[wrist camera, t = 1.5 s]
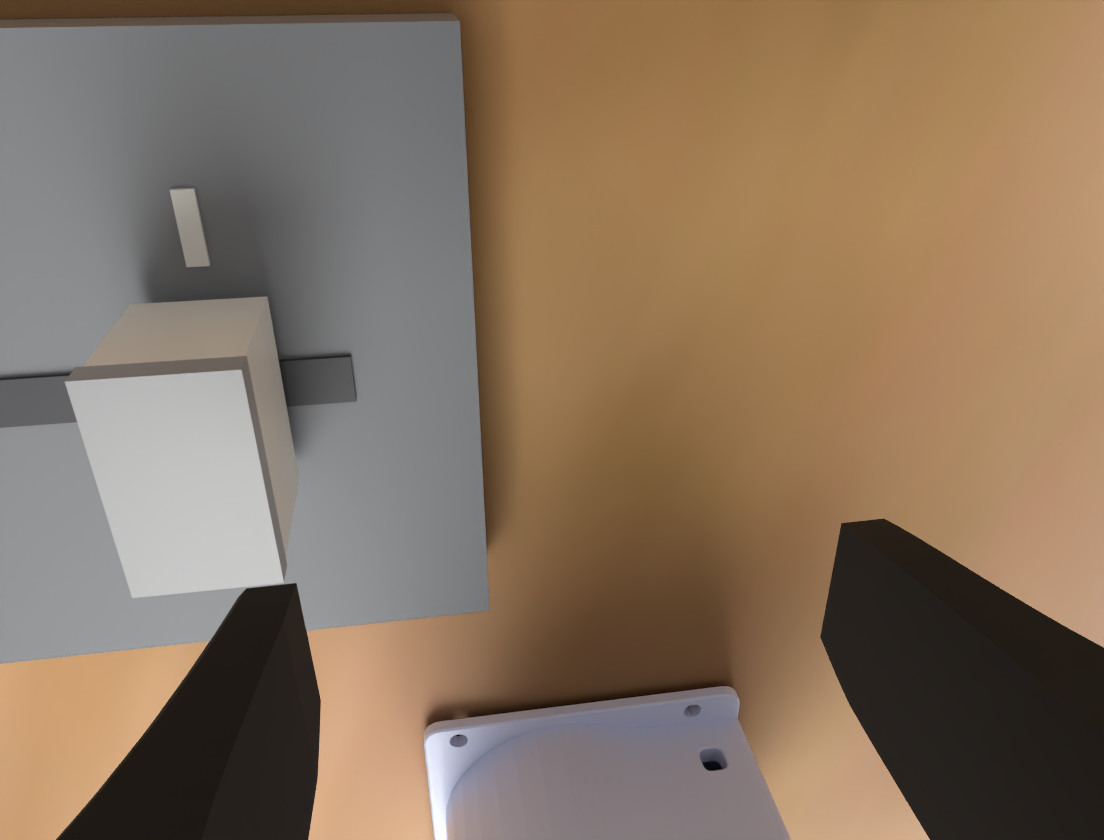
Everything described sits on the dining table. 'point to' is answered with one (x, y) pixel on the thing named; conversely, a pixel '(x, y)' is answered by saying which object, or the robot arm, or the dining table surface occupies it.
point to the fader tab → (191, 444)
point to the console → (241, 272)
